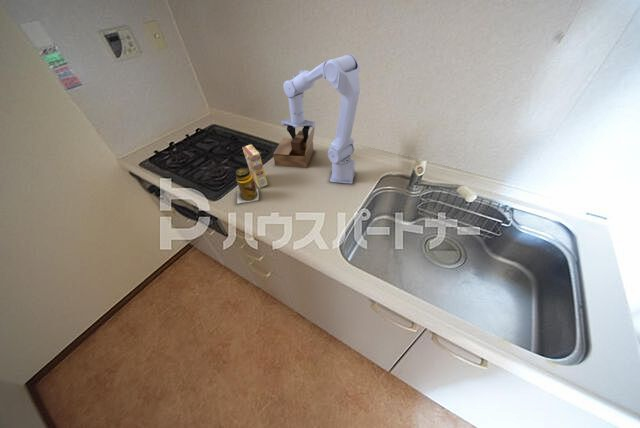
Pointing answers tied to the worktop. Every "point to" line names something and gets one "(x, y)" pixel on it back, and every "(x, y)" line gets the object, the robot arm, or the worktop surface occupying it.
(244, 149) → the candy box
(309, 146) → the bin flap
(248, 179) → the condiment
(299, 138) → the chocolate bar
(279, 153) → the brown wooden square box
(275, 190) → the worktop surface
